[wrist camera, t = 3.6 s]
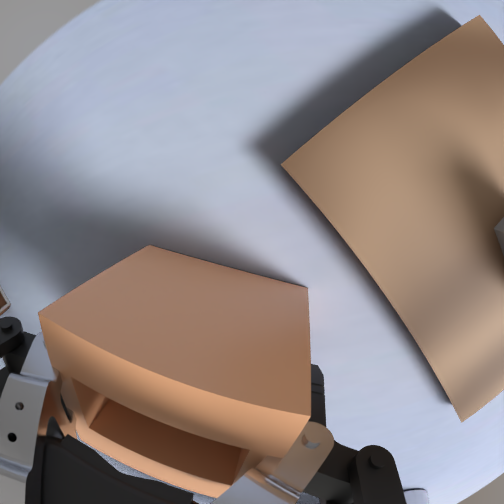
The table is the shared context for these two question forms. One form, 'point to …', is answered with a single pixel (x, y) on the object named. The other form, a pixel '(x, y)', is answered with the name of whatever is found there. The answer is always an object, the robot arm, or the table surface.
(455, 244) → the base board
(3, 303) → the food container
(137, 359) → the orange open box
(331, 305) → the table surface
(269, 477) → the robot arm
